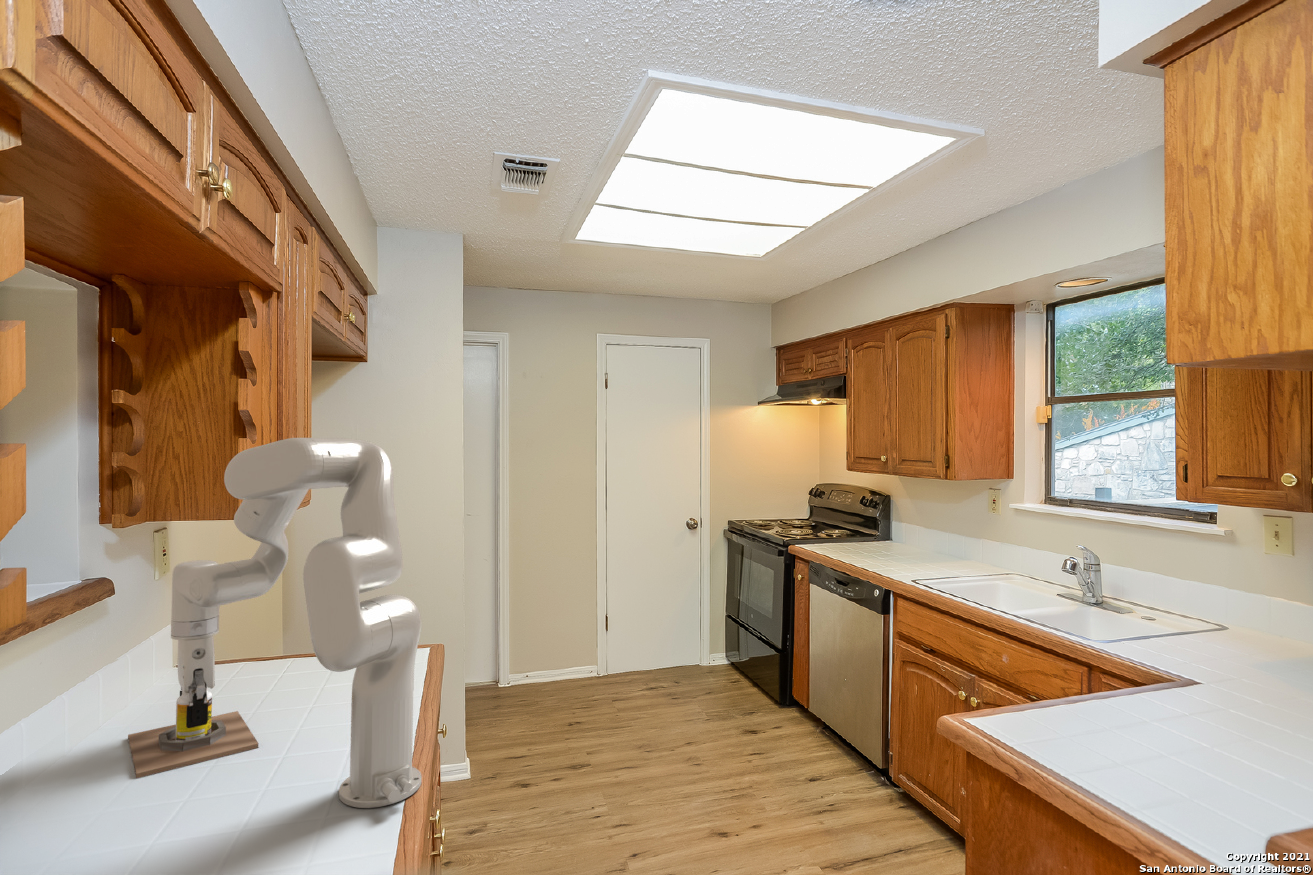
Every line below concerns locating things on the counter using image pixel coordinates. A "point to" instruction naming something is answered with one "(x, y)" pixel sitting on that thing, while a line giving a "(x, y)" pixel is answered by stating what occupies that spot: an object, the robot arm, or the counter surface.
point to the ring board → (189, 745)
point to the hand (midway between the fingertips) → (193, 717)
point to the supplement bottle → (181, 713)
